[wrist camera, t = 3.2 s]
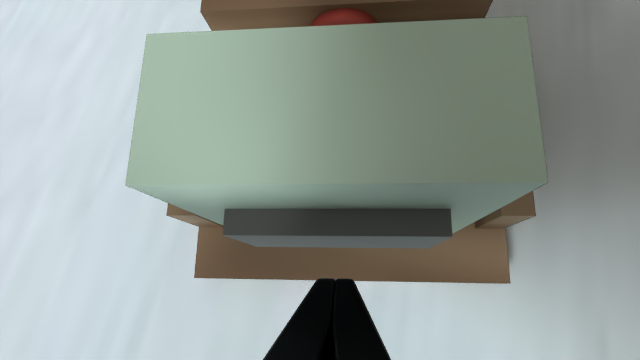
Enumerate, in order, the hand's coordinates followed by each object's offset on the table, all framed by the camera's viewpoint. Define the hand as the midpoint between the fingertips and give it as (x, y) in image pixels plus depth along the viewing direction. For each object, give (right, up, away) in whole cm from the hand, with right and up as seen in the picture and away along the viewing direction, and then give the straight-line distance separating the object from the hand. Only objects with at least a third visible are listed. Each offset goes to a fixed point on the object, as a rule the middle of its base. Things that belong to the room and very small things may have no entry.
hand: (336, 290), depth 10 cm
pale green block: (+1, +2, +6) cm, 6 cm away
